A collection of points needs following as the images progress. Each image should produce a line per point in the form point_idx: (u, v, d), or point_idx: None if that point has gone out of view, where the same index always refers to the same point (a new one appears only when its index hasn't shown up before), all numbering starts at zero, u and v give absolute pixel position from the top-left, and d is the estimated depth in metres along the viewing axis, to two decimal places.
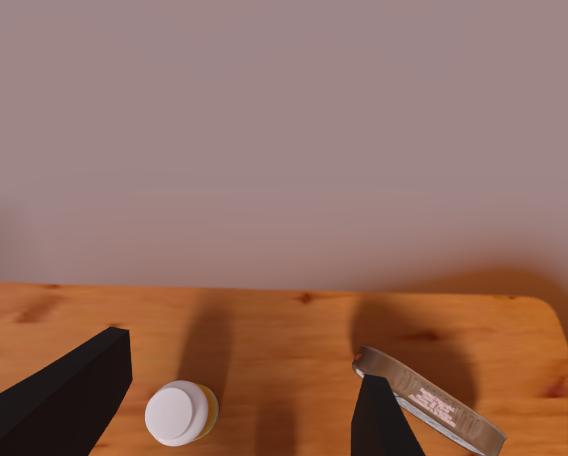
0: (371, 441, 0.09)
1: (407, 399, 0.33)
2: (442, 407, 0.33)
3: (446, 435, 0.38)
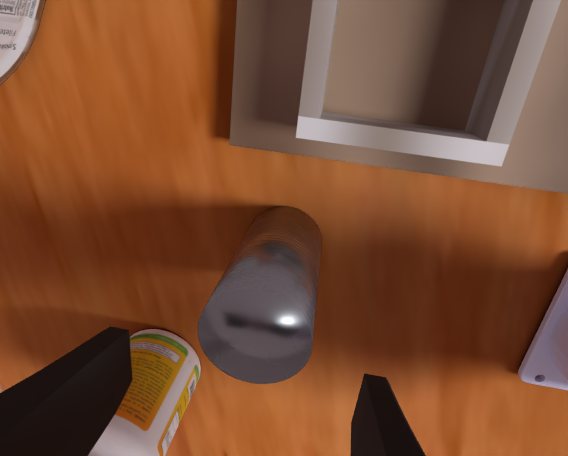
0: (371, 441, 0.09)
1: None
2: None
3: None
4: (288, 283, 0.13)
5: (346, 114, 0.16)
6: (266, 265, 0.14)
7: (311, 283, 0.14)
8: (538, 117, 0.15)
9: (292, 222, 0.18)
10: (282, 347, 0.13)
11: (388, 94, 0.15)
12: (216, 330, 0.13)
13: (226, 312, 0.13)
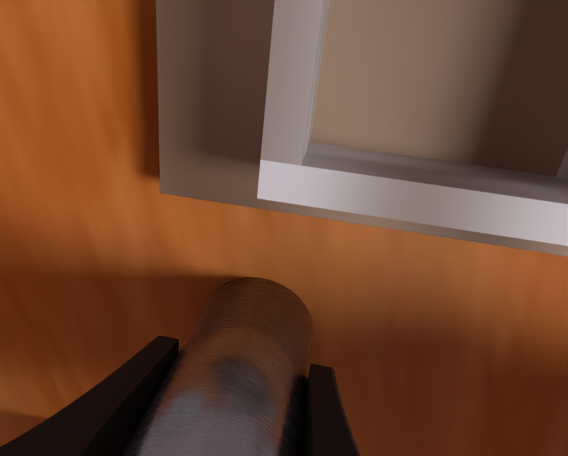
0: (307, 428, 0.09)
1: None
2: None
3: None
4: None
5: (350, 147, 0.09)
6: (197, 454, 0.07)
7: None
8: None
9: (263, 315, 0.11)
10: None
11: (425, 115, 0.09)
12: None
13: None
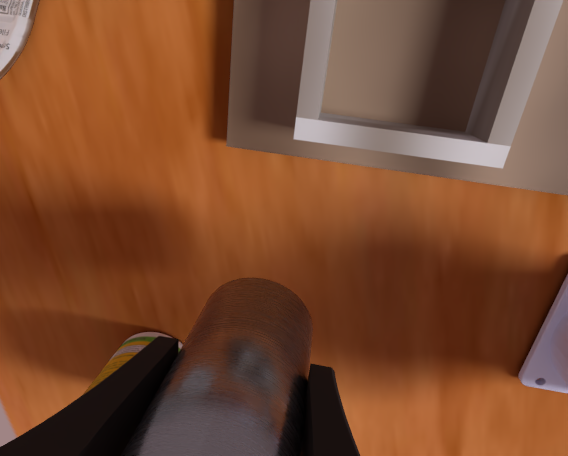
0: (307, 428, 0.09)
1: None
2: None
3: None
4: None
5: (345, 115, 0.16)
6: (197, 454, 0.07)
7: None
8: (539, 118, 0.15)
9: (263, 315, 0.11)
10: None
11: (388, 95, 0.15)
12: None
13: None
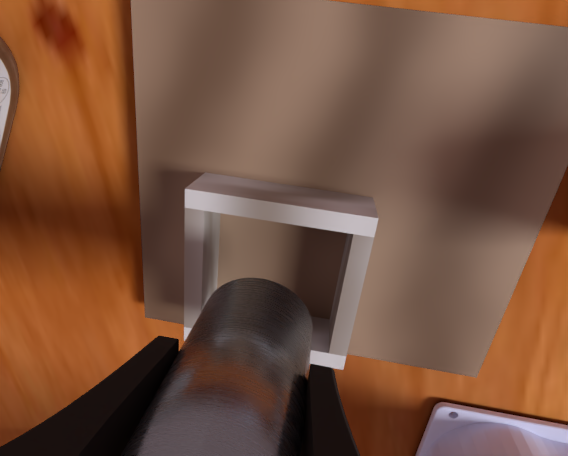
0: (307, 428, 0.09)
1: None
2: None
3: (8, 89, 0.17)
4: None
5: None
6: (197, 454, 0.07)
7: None
8: (385, 314, 0.19)
9: (263, 315, 0.11)
10: None
11: None
12: None
13: None
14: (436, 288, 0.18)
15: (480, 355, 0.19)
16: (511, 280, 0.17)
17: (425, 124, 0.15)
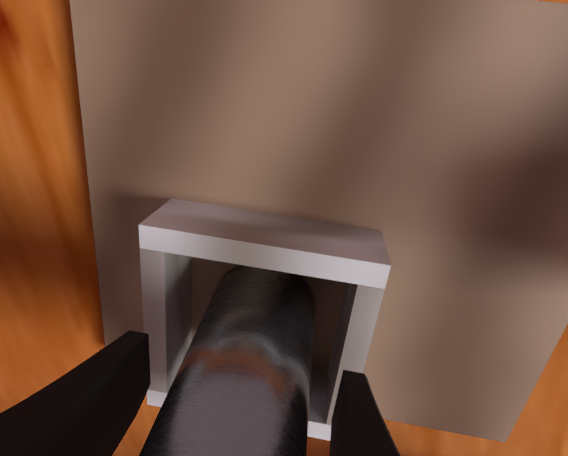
0: (346, 436, 0.09)
1: None
2: None
3: None
4: None
5: None
6: (223, 418, 0.08)
7: (298, 424, 0.09)
8: (395, 368, 0.15)
9: (271, 297, 0.12)
10: None
11: None
12: None
13: None
14: (459, 340, 0.14)
15: (510, 417, 0.16)
16: (554, 332, 0.14)
17: (450, 140, 0.12)
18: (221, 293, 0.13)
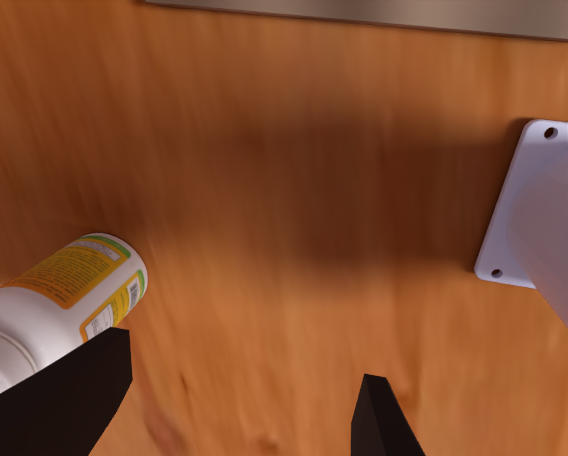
0: (371, 441, 0.09)
1: None
2: None
3: None
4: None
5: None
6: None
7: None
8: None
9: None
10: None
11: None
12: None
13: None
14: None
15: None
16: None
17: None
18: None
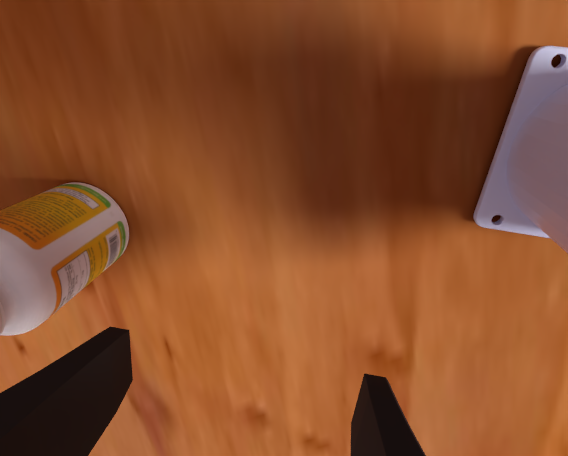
0: (371, 441, 0.09)
1: None
2: None
3: None
4: None
5: None
6: None
7: None
8: None
9: None
10: None
11: None
12: None
13: None
14: None
15: None
16: None
17: None
18: None
